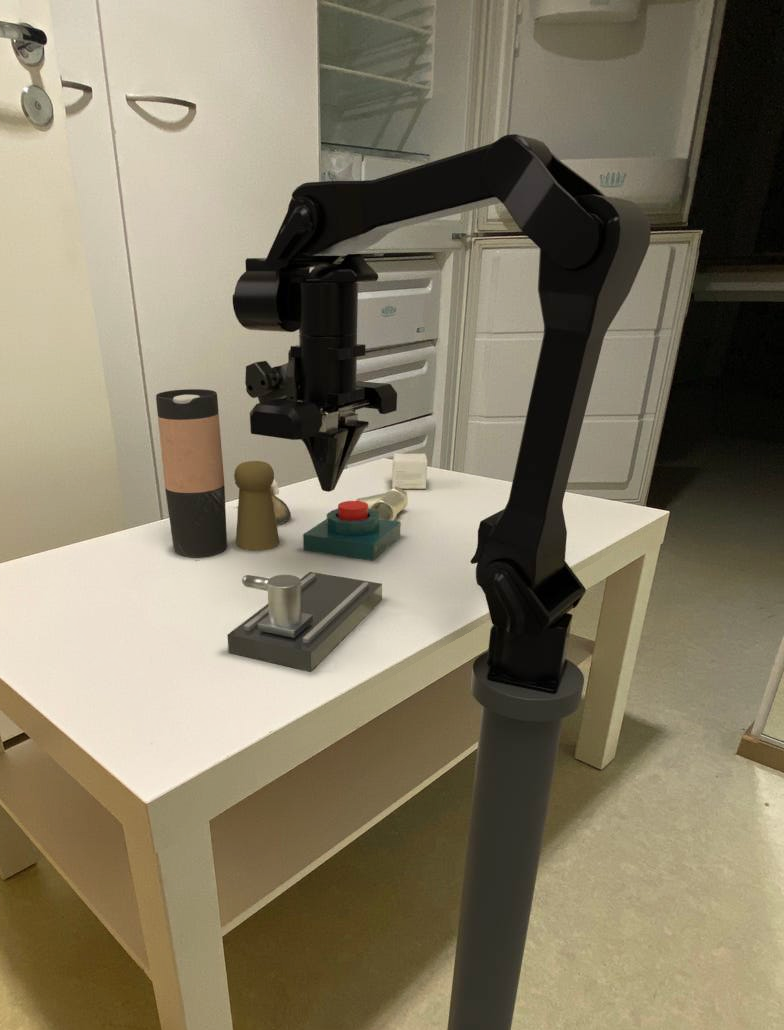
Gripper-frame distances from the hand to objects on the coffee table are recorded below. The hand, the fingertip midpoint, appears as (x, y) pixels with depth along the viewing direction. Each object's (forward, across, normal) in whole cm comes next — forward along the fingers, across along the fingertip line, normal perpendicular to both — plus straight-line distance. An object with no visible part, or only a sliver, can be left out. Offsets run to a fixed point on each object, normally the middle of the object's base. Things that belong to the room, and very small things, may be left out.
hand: (327, 490), depth 78 cm
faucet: (+10, +14, +3) cm, 17 cm away
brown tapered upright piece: (+12, -9, -18) cm, 23 cm away
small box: (+12, -46, -15) cm, 49 cm away
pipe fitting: (+12, -27, -10) cm, 31 cm away
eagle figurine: (+12, -19, -24) cm, 33 cm away
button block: (+12, -16, -7) cm, 21 cm away
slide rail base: (+12, +8, +3) cm, 15 cm away
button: (+8, -15, -7) cm, 19 cm away
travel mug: (+12, -3, -23) cm, 26 cm away
